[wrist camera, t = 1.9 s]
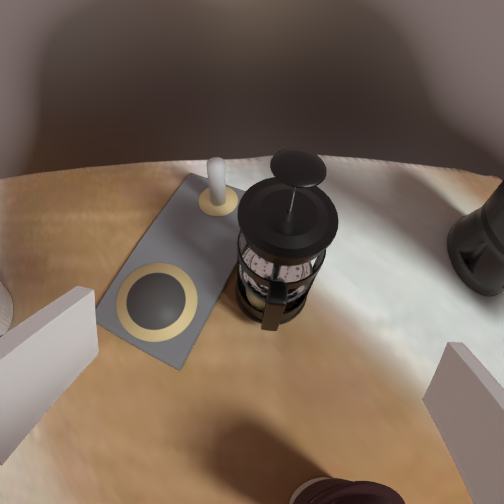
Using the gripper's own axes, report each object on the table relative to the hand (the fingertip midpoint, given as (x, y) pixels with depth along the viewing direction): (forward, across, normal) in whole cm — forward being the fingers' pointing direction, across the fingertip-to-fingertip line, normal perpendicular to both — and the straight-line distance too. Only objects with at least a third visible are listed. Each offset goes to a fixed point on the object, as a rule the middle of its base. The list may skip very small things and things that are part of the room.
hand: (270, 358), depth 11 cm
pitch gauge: (+33, -12, -7) cm, 36 cm away
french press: (+31, +1, -10) cm, 32 cm away
